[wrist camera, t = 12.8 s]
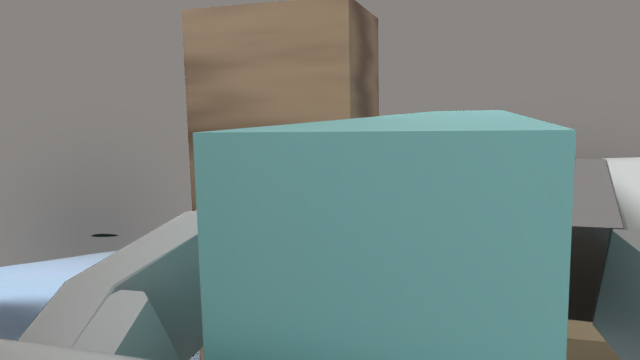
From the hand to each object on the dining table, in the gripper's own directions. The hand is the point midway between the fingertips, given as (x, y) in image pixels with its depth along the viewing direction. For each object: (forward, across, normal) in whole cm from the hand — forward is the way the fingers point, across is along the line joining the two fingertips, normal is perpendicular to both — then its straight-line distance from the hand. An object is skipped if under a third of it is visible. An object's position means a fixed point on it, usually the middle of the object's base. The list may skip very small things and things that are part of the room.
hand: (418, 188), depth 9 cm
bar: (+6, 0, +6) cm, 9 cm away
